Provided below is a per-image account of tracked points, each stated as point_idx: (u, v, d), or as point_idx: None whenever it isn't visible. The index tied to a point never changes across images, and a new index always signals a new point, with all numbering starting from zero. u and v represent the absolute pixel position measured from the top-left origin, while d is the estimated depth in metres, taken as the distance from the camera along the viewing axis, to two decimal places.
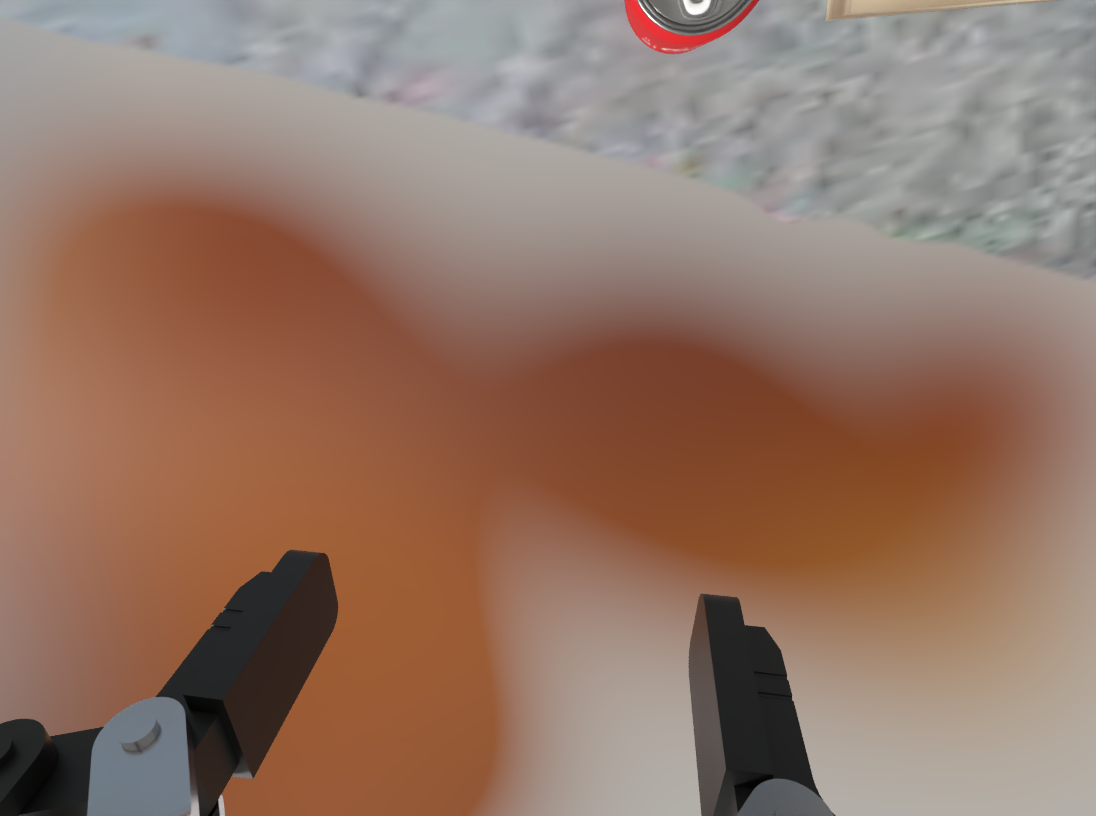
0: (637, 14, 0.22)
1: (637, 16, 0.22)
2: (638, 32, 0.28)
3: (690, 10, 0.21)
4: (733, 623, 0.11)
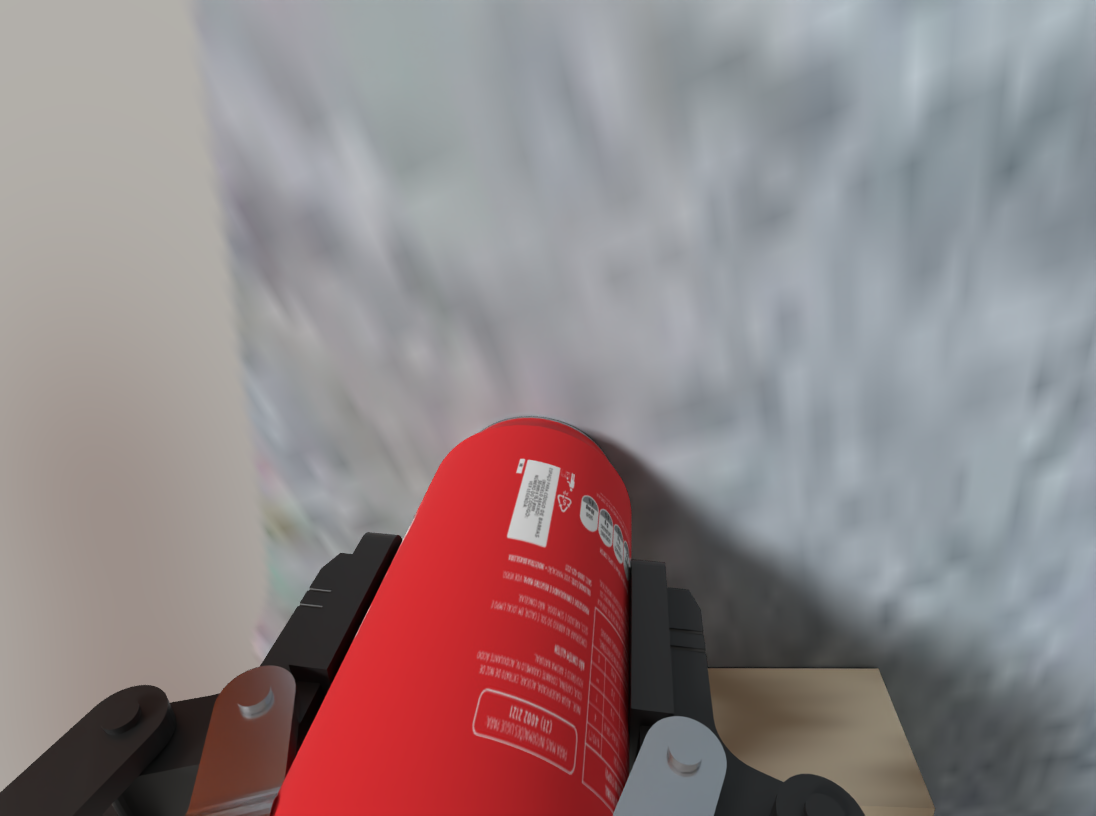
0: None
1: None
2: (398, 557, 0.12)
3: None
4: (656, 584, 0.12)
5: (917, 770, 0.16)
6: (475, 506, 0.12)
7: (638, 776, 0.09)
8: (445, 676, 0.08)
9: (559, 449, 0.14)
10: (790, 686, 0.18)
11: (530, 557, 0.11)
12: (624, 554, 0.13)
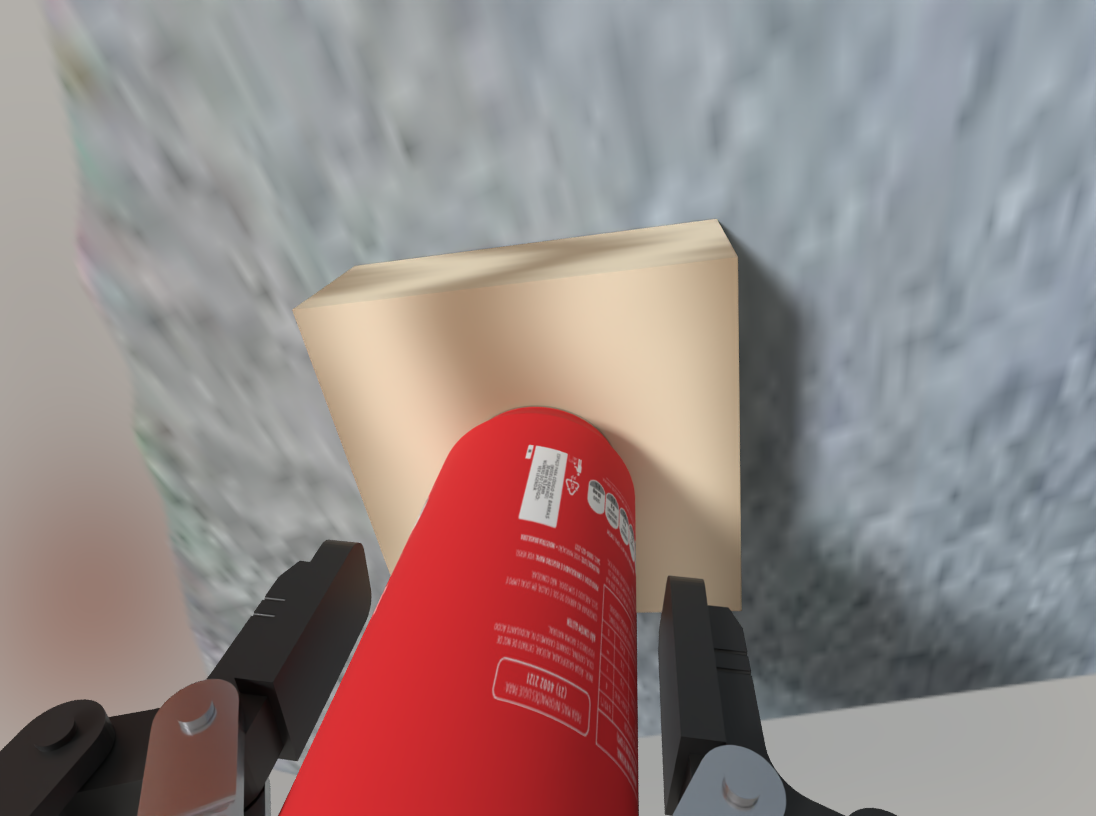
0: None
1: None
2: (412, 539, 0.12)
3: None
4: (697, 603, 0.12)
5: (729, 246, 0.14)
6: (486, 489, 0.12)
7: (690, 802, 0.08)
8: (465, 646, 0.09)
9: (566, 436, 0.14)
10: (621, 236, 0.17)
11: (541, 536, 0.11)
12: (630, 536, 0.13)
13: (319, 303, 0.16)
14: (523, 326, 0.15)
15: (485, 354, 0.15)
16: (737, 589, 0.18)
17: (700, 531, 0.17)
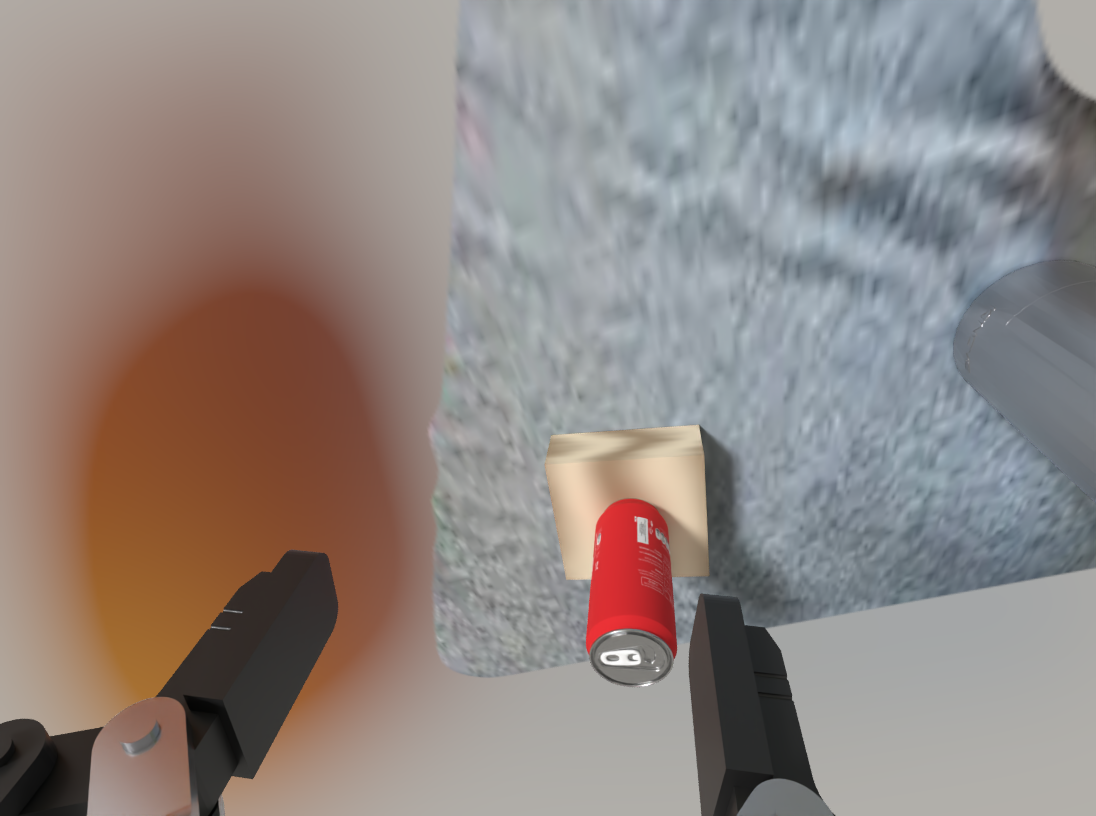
0: (600, 624, 0.34)
1: (599, 623, 0.34)
2: (602, 547, 0.40)
3: (602, 656, 0.34)
4: (733, 623, 0.11)
5: (701, 447, 0.42)
6: (625, 532, 0.40)
7: None
8: (632, 574, 0.36)
9: (646, 512, 0.42)
10: (662, 431, 0.44)
11: (645, 547, 0.38)
12: (668, 546, 0.41)
13: (553, 461, 0.43)
14: (629, 472, 0.42)
15: (614, 480, 0.43)
16: (707, 567, 0.46)
17: (692, 544, 0.45)
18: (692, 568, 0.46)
